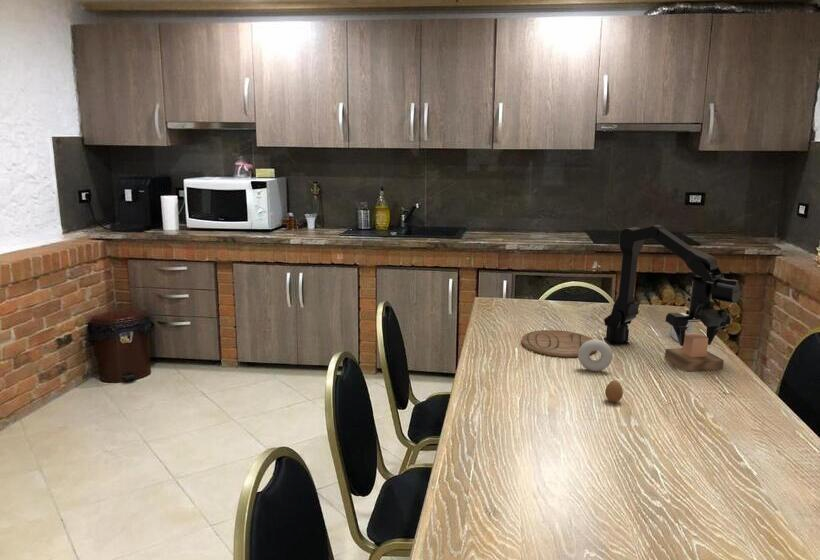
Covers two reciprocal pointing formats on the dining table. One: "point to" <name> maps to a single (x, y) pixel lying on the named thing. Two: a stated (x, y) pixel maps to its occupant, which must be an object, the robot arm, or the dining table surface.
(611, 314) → the robot arm
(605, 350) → the donut
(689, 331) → the medicine box
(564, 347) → the trivet
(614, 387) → the egg
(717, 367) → the walnut base
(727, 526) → the dining table surface
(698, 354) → the terracotta block
